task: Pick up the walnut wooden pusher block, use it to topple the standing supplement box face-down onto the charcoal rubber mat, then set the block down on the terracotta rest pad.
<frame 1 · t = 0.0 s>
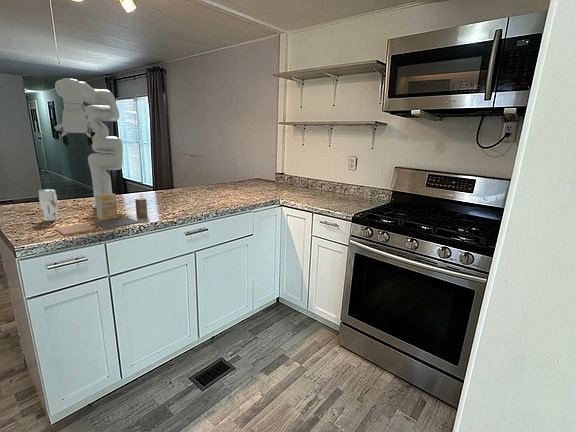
hand: (78, 145, 148), 37 cm above the worktop, tool pointing down, fingers open, 9 cm apart
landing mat: (117, 223, 155), on the worktop
rest pad: (75, 230, 142), on the worktop
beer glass: (51, 219, 156), on the worktop
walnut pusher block: (142, 217, 167), on the worktop
supplement box: (108, 219, 162), on the worktop
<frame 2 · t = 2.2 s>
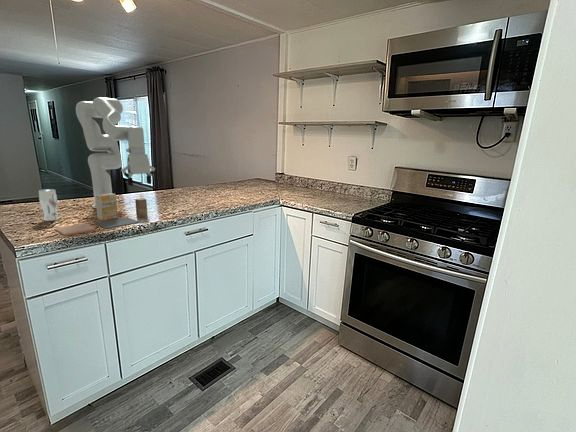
hand: (140, 184, 163), 18 cm above the worktop, tool pointing down, fingers open, 9 cm apart
nothing on the worktop moved.
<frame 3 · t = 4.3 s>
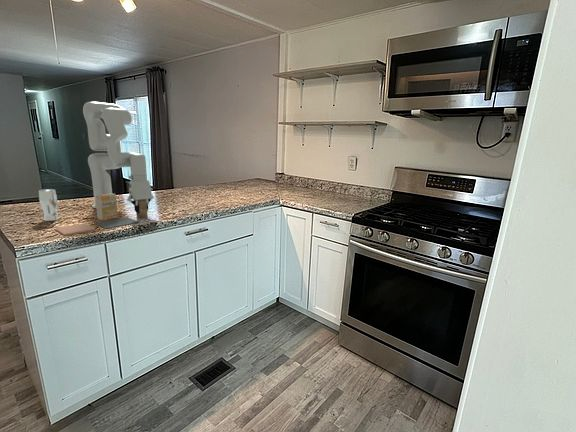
hand: (141, 211, 166), 3 cm above the worktop, tool pointing down, fingers closed on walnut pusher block, 4 cm apart
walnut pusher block: (142, 217, 167), on the worktop, touching gripper
everything else where it was.
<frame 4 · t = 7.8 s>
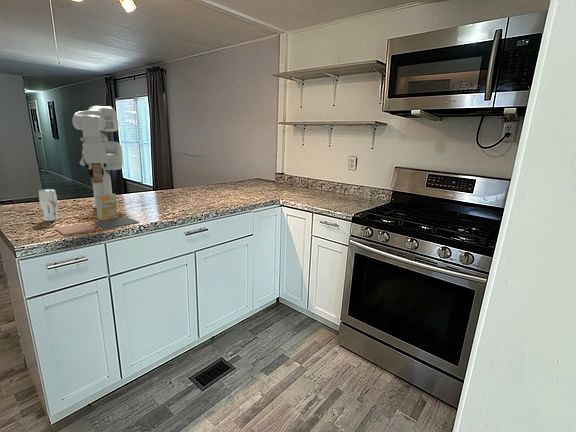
hand: (96, 176, 161), 21 cm above the worktop, tool pointing down, fingers closed on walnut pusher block, 4 cm apart
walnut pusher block: (97, 182, 162), point 18 cm above the worktop, touching gripper
everything else where it was.
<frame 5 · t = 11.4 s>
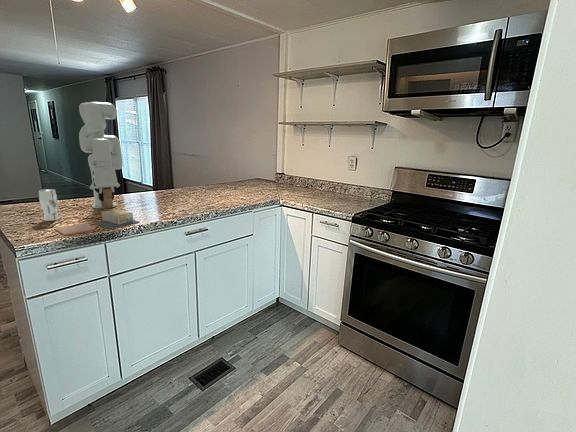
hand: (106, 199, 158), 10 cm above the worktop, tool pointing down, fingers closed on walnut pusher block, 4 cm apart
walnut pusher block: (107, 206, 159), point 7 cm above the worktop, touching gripper
supplement box: (109, 214, 159), point 3 cm above the worktop, touching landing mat
everything else where it was.
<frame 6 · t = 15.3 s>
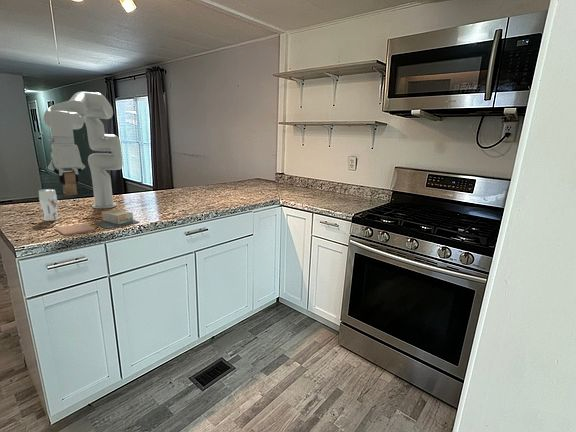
hand: (69, 183, 136), 22 cm above the worktop, tool pointing down, fingers closed on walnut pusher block, 4 cm apart
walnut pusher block: (70, 193, 138), point 17 cm above the worktop, touching gripper
everything else where it was.
when the fingers open (6 cm above the worktop, at t = 18.4 s): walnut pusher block stays where it is, resting on rest pad.
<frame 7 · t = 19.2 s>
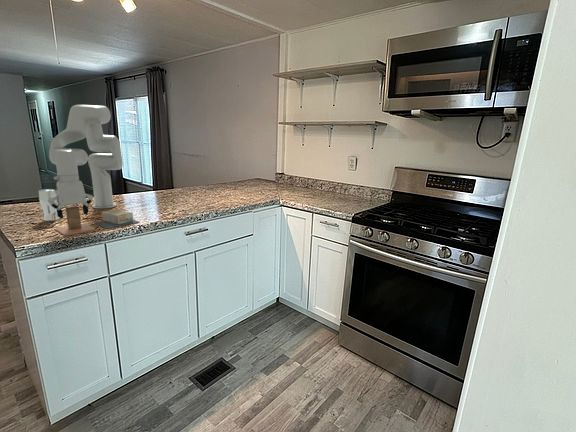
hand: (73, 216, 140), 7 cm above the worktop, tool pointing down, fingers open, 9 cm apart
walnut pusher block: (75, 228, 142), point 1 cm above the worktop, touching rest pad
everything else where it was.
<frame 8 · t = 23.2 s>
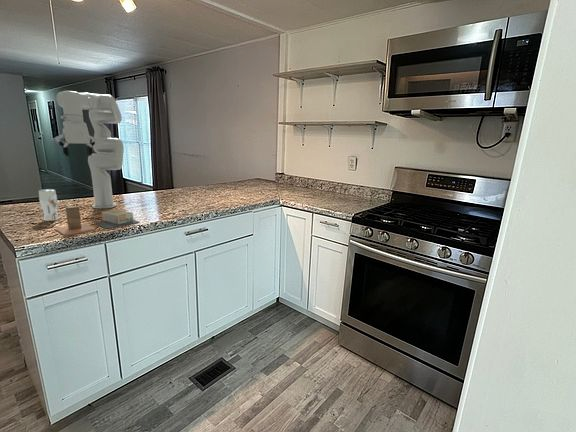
hand: (78, 155, 151), 32 cm above the worktop, tool pointing down, fingers open, 9 cm apart
nothing on the worktop moved.
at the end: supplement box tilted 90°; supplement box inside the target area (1.9 cm from its centre), point 2.8 cm above the worktop; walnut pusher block inside the target area (0.5 cm from its centre), point 0.8 cm above the worktop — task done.
